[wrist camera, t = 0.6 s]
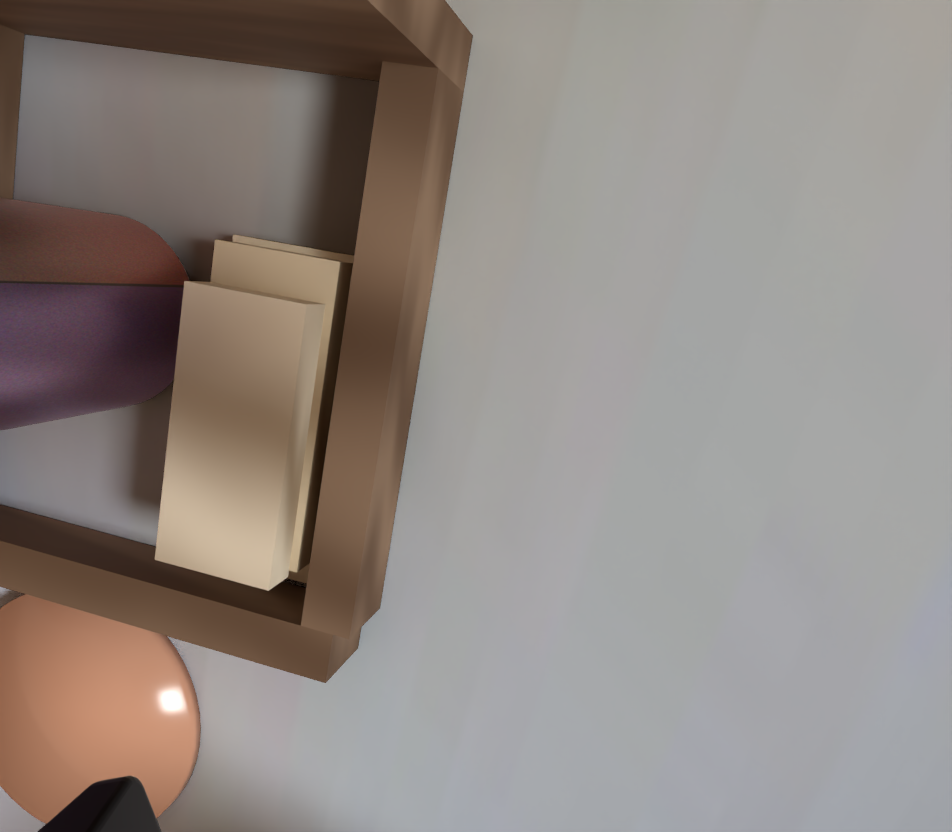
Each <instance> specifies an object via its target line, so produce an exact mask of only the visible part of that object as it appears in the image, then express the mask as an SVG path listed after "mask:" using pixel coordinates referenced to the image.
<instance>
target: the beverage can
mask: <svg viewBox="0 0 952 832" xmlns="http://www.w3.org/2000/svg"><path fill="white" fill-rule="evenodd" d="M184 281H190V280H189V277H188V275H187V273H186V271H185V269H184V267H183V265H182V263H181V262H180V260H179V259H178V257H177V256H176V254H175V253H174V251H173V250H172V249H171V247H170V246H169V245H168V244H167V243H166V242H165V241H164V240H163V239H162V238H161V237H160V236H159V235H158V234H157V233H155V232H154V231H153V230H151V229H150V228H148V227H147V226H145V225H143V224H142V223H140V222H137V221H135V220H133V219H130V218H127V217H123V216H118V215H112V214H106V213H99V212H93V211H86V210H79V209H73V208H66V207H60V206H53V205H46V204H40V203H33V202H26V201H20V200H13V199H7V198H0V430H5V429H11V428H16V427H21V426H26V425H32V424H37V423H42V422H47V421H53V420H58V419H63V418H68V417H73V416H79V415H84V414H89V413H94V412H100V411H105V410H110V409H115V408H120V407H126V406H131V405H135V404H139V403H142V402H144V401H147V400H149V399H151V398H153V397H154V396H156V395H157V394H159V393H160V392H162V391H163V390H164V389H165V388H166V387H167V386H168V385H169V384H170V383H171V382H172V381H173V380H174V374H175V365H176V355H177V346H178V337H179V327H180V318H181V309H182V299H183V290H184Z"/></svg>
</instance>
